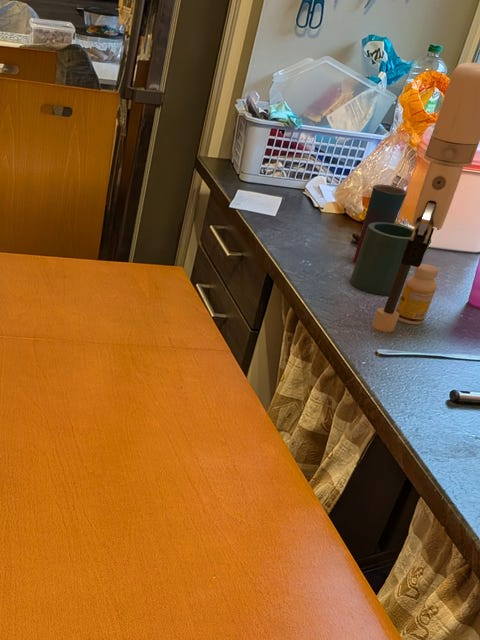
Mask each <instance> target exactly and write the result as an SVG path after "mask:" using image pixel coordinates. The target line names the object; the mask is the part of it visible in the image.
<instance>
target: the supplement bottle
mask: <svg viewBox="0 0 480 640" xmlns="http://www.w3.org/2000/svg"><path fill="white" fill-rule="evenodd" d="M439 271H440V270H439V268H438V267H436V266H434V265H431V264H426V263H421V265H420V266H419V267H415V269H414V272H413V274H414V275H411V276H410V277H409V278H408V279H406V281H405V284H404V287H403V289H402V292H401V295H400V298H399V300H398V303H397V306H396V309H395V311H397V312H399V317H398V320H397V321H399V322H400V323H404V324H408V325H415V326H416V325H420V324H423V323H424V321H425V319H426V316H427V314H428V311H429V308H430V306H431V304H432V300H433V298H434V295H435V293H436V290H437V287H438V283H437V282H436V280H435V279H437V276H438V274H439Z"/></svg>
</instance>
